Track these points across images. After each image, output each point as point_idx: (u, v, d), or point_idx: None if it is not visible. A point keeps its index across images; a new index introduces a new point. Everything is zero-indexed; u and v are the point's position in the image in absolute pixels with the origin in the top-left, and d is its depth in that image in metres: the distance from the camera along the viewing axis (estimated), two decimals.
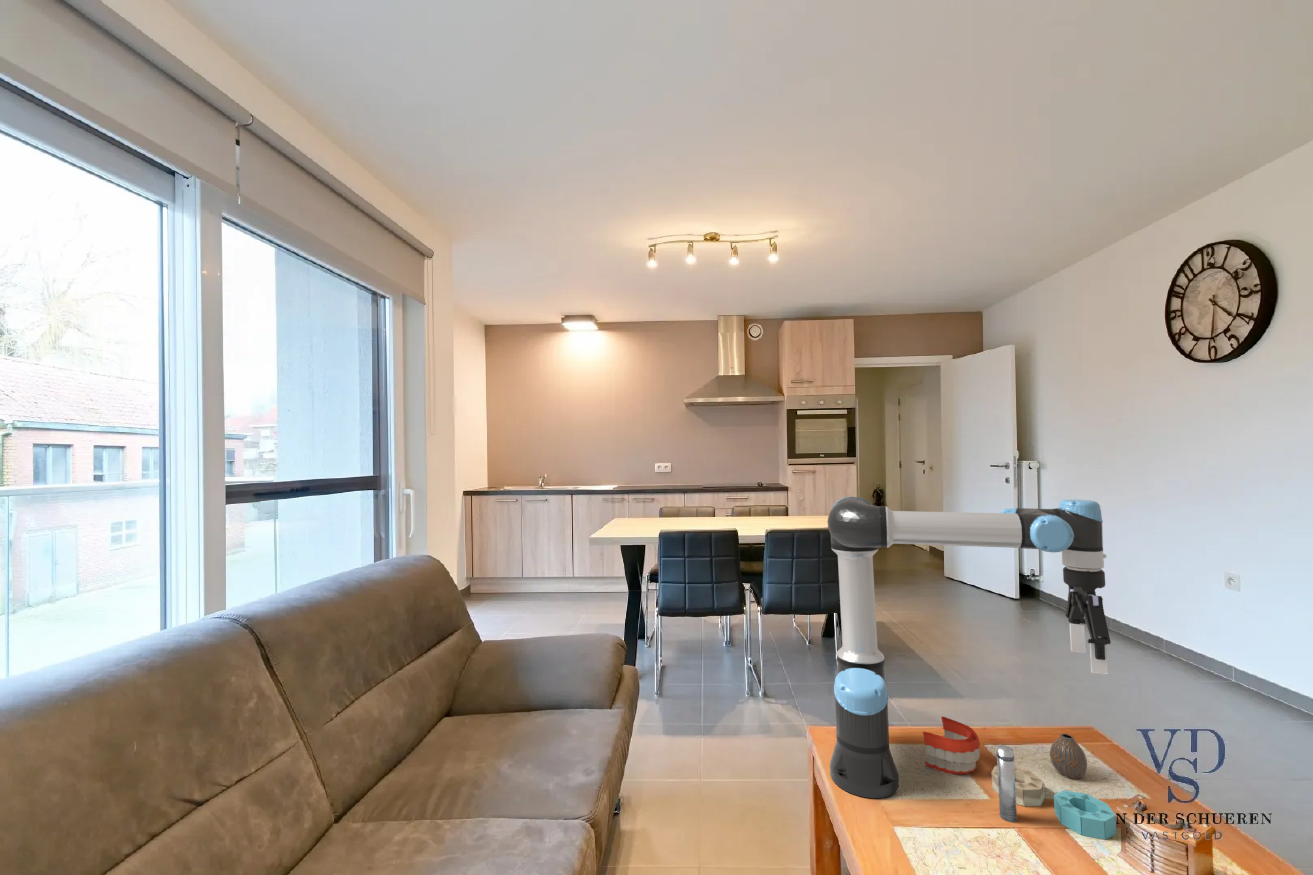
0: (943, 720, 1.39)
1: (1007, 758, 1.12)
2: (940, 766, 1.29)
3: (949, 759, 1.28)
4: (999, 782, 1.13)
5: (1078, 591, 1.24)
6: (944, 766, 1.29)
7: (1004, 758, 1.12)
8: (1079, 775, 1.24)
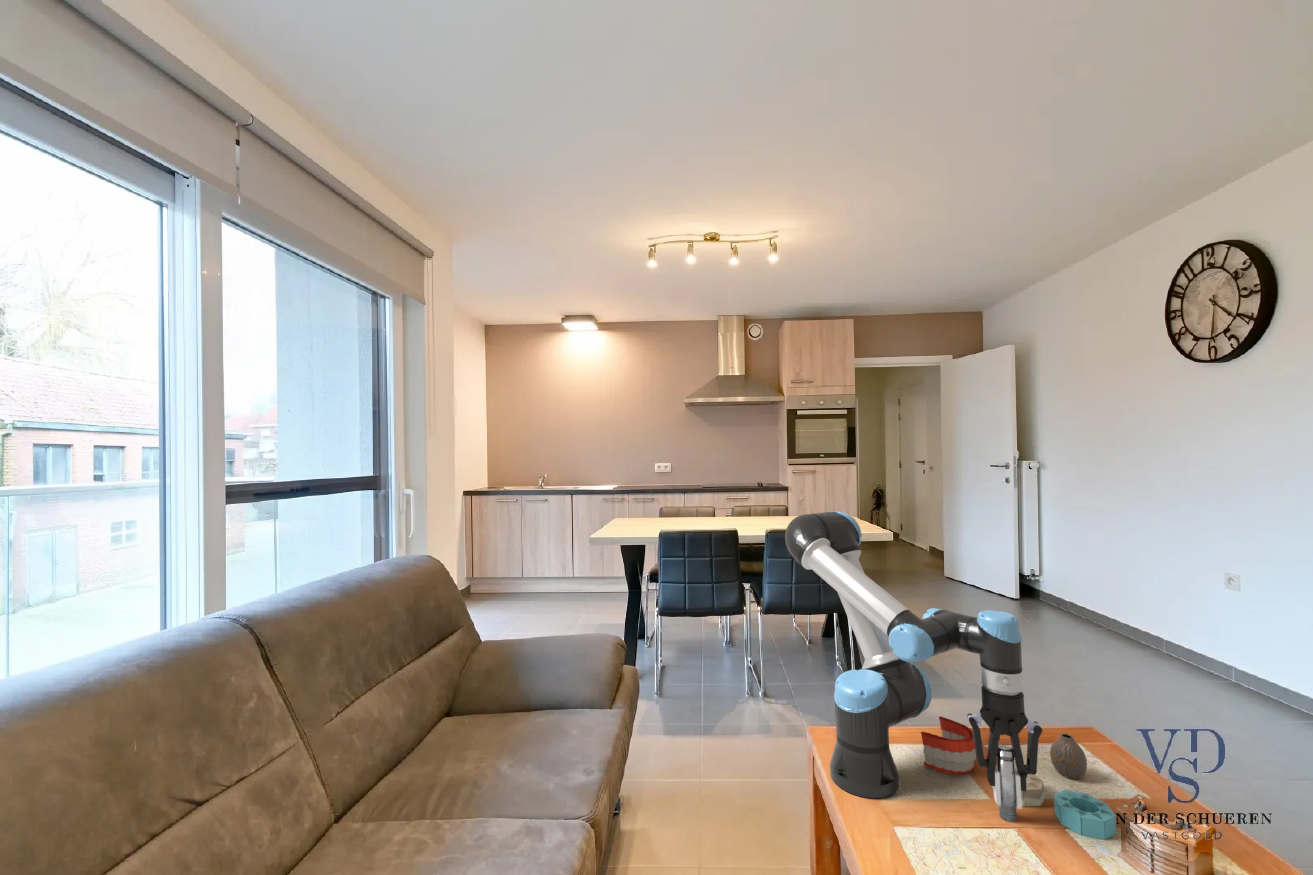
0: (941, 720, 1.39)
1: (1007, 758, 1.12)
2: (939, 766, 1.30)
3: (947, 759, 1.28)
4: None
5: None
6: (942, 766, 1.29)
7: (1004, 758, 1.12)
8: (1079, 775, 1.24)
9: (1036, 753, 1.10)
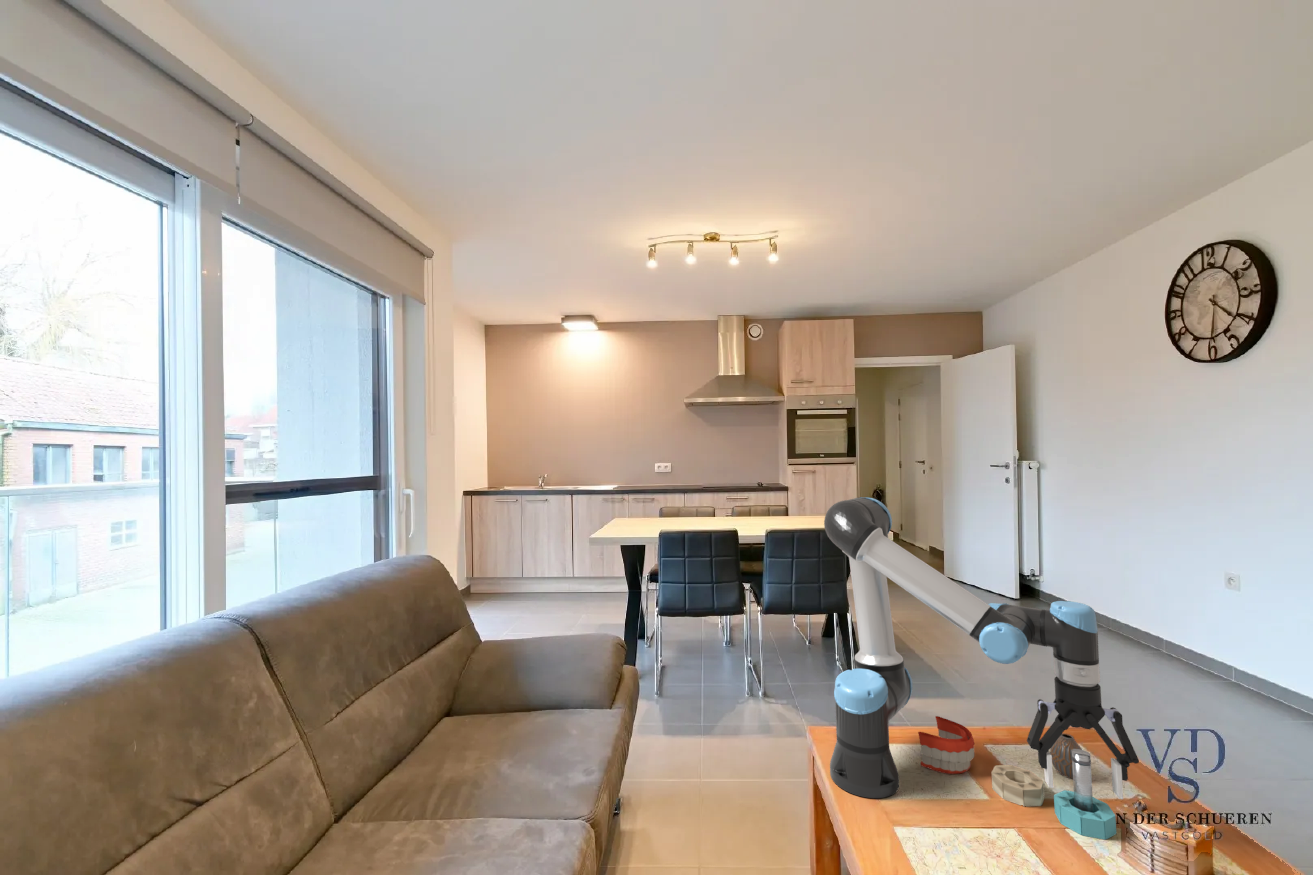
0: (937, 720, 1.39)
1: (1084, 763, 1.09)
2: (936, 765, 1.30)
3: (944, 759, 1.28)
4: (1075, 787, 1.11)
5: None
6: (939, 766, 1.29)
7: (1080, 762, 1.10)
8: None
9: (1128, 740, 1.07)
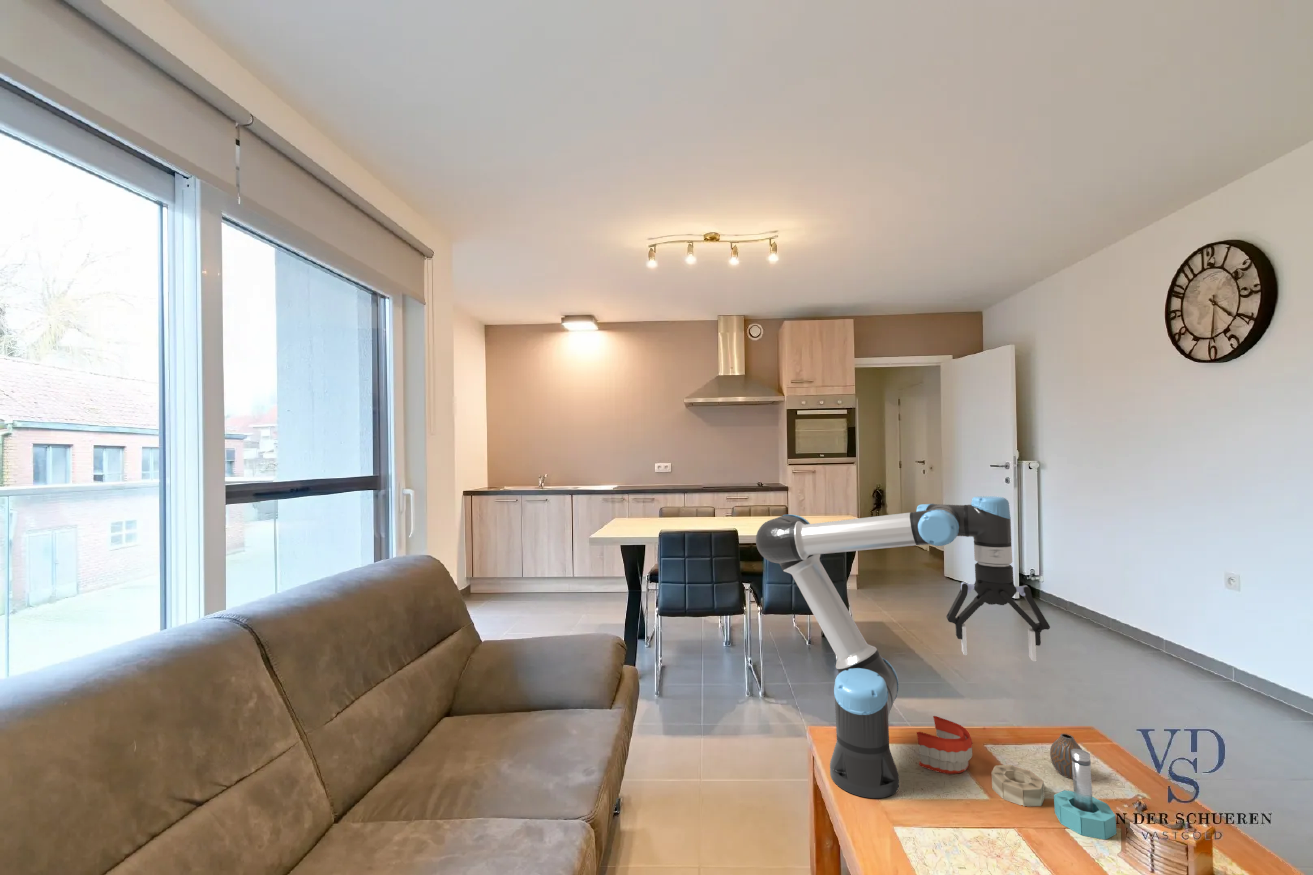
0: (935, 719, 1.39)
1: (1083, 762, 1.09)
2: (934, 765, 1.30)
3: (943, 759, 1.28)
4: (1075, 787, 1.11)
5: None
6: (938, 766, 1.29)
7: (1080, 762, 1.10)
8: None
9: (1038, 610, 1.21)
